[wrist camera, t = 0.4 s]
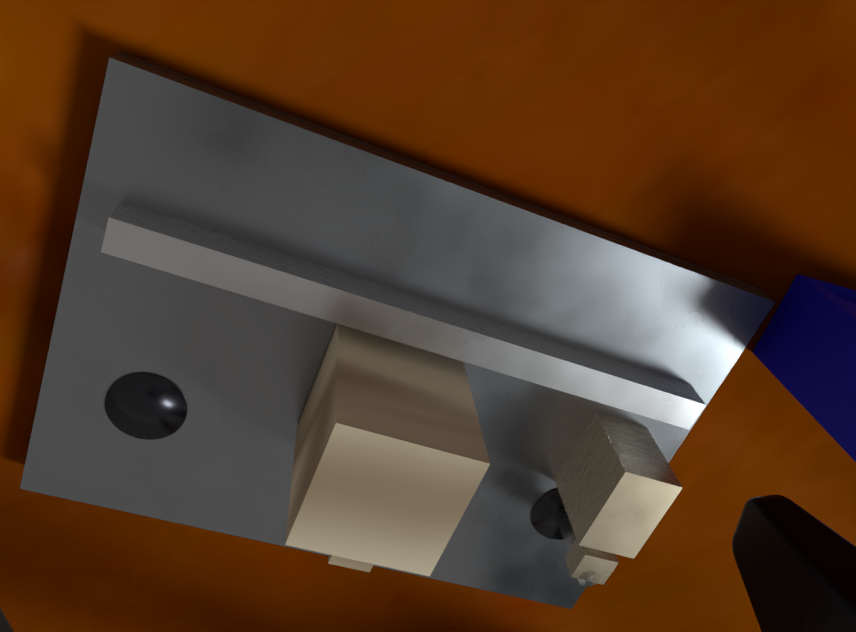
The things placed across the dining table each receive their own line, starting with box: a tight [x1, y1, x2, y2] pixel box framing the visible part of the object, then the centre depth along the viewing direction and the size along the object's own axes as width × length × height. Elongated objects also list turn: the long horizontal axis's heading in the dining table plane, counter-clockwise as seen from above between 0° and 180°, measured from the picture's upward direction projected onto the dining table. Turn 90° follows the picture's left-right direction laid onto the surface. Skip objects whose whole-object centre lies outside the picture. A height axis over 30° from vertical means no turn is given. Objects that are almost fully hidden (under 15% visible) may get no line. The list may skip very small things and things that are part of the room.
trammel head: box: [285, 324, 490, 576], centre depth 21 cm, size 5×4×5 cm
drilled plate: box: [20, 51, 775, 609], centre depth 22 cm, size 14×20×4 cm
